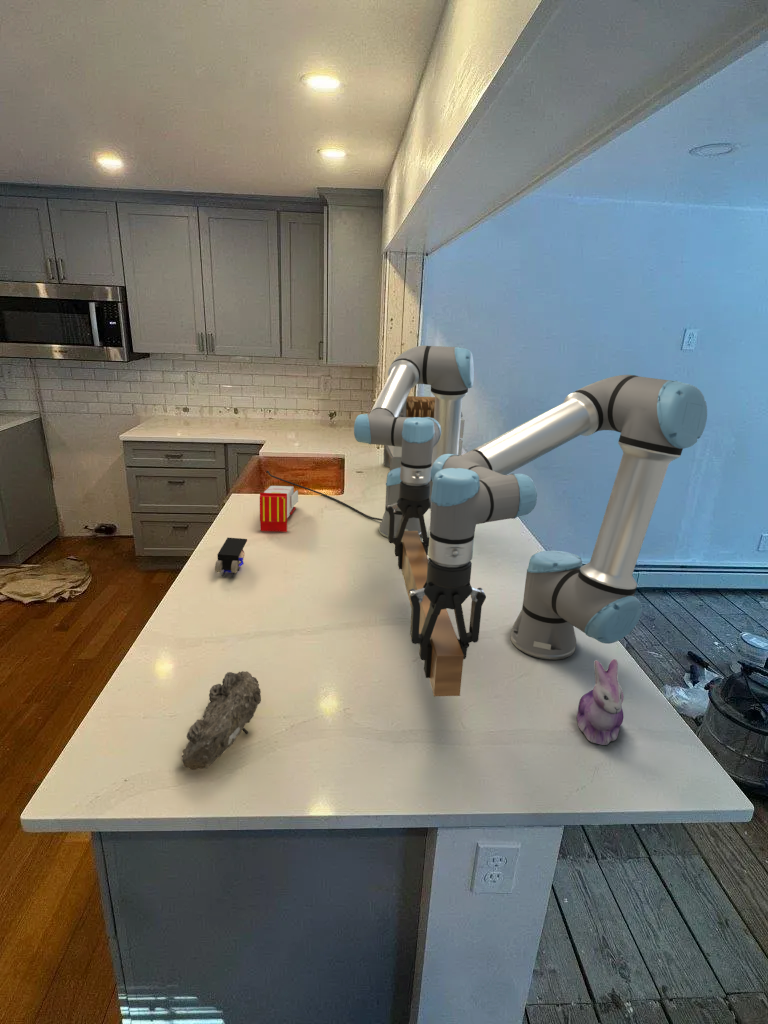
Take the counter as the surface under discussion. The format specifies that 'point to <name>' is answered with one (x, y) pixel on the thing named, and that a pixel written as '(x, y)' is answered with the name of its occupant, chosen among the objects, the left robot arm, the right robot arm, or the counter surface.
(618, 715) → the figurine
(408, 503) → the left robot arm
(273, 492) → the toy
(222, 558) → the figurine character
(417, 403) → the grey tall slatted box
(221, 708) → the fossil
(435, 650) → the post
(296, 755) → the counter surface
